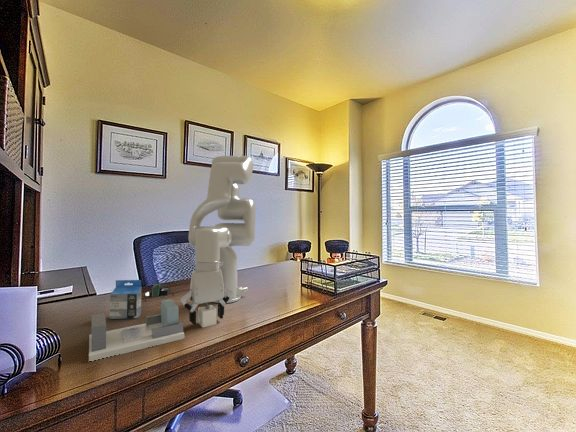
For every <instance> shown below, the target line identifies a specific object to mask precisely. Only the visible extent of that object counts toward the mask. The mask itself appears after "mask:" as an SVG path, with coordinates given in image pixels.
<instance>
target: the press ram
mask: <svg viewBox="0 0 576 432" xmlns="http://www.w3.org/2000/svg"><path fill="white" fill-rule="evenodd" d="M179 309H180V308H179V305H177V304H176V303H175V301H174V300H173V299H172V298H169V299H163V300H162V299H161V300H160V314H161V323H162V325H163V326H166V325H171V324H176V323H180V322H179V320H180V319H179V313H180V312H179V311H180V310H179Z"/></svg>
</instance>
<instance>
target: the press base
mask: <svg viewBox="0 0 576 432" xmlns="http://www.w3.org/2000/svg"><path fill="white" fill-rule="evenodd" d="M145 325H146V322H145V323H140V324H136V325H131V326H125V327H120V328H115V329H111V330H106V349H102V350H97V351H93V352H91V345H92V333H91V334H88V336H89V338H88V339H89V340H88V346H89V347H88V362H89V361H92V362H95V361H94V360H96V361H98V359H100V360H103V359H102V358H104V359H107V358H106V357H108V358H111V357H110V356H112V357H115V356H114V355H116V356H120V355H123V354H128V353H131V352H135V351H140V350H145V349H148V347H149V348H152V346H153V347H157V346H160V345H165V344H169V343H171V342H177V341H180V340H184V339H185V332H184V331H183V332H180V333H176V334H171V335H167V336H163V337H159V338H154V339H152V337H147V338H143V339H139V340H134V341H130V342H125V343H124V340H123V336H122V330H125V329H130V328H135V327H140V326H145ZM149 326H150V328H151V330H152V328H157V327H162V326H163V325H162V323H158V324H153V325H149ZM156 345H157V346H156ZM119 354H120V355H119Z"/></svg>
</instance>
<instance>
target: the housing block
mask: <svg viewBox="0 0 576 432" xmlns="http://www.w3.org/2000/svg"><path fill="white" fill-rule="evenodd" d="M204 304H205V306H200V307H197V323H198V324H199V326H200V327H201V328H206V327H211V326H215V325H217V317H218V308H217V307H215V306H214V305H212V304H210V302H208V303H204Z"/></svg>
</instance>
